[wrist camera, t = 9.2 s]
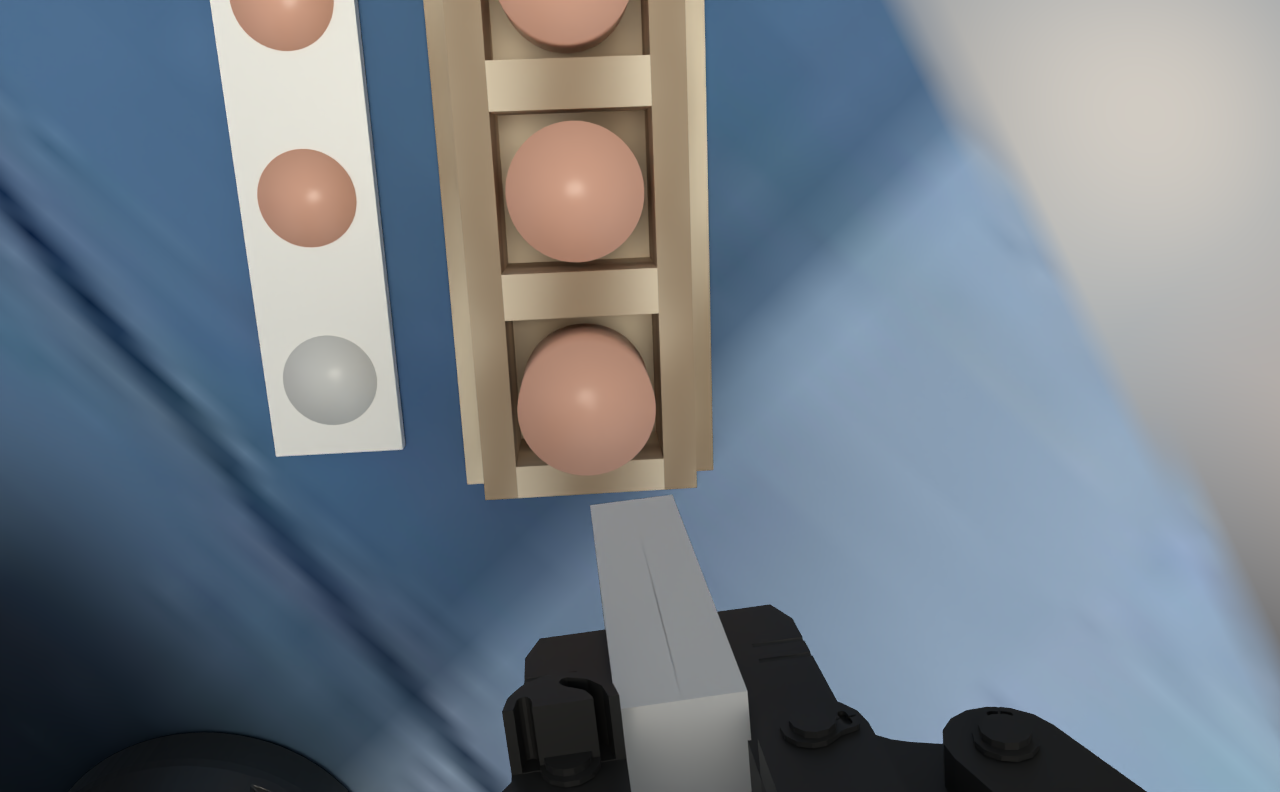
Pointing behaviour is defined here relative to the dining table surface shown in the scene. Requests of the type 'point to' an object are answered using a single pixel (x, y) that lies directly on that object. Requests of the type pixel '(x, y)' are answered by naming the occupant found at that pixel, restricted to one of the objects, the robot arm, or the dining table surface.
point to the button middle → (574, 191)
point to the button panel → (575, 291)
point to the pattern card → (311, 221)
